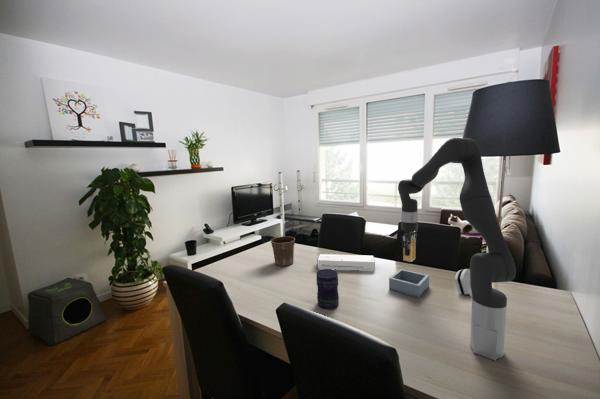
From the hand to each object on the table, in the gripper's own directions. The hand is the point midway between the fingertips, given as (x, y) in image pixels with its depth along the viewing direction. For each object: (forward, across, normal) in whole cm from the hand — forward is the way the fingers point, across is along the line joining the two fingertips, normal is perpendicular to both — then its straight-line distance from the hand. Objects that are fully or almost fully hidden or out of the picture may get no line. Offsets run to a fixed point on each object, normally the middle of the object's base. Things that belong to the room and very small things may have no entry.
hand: (409, 253), depth 131 cm
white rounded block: (+18, +16, -22) cm, 33 cm away
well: (+18, 0, 0) cm, 18 cm away
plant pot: (+18, -13, +77) cm, 80 cm away
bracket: (+3, 0, 0) cm, 3 cm away
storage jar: (+18, -37, +23) cm, 47 cm away
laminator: (+19, +6, +41) cm, 45 cm away
